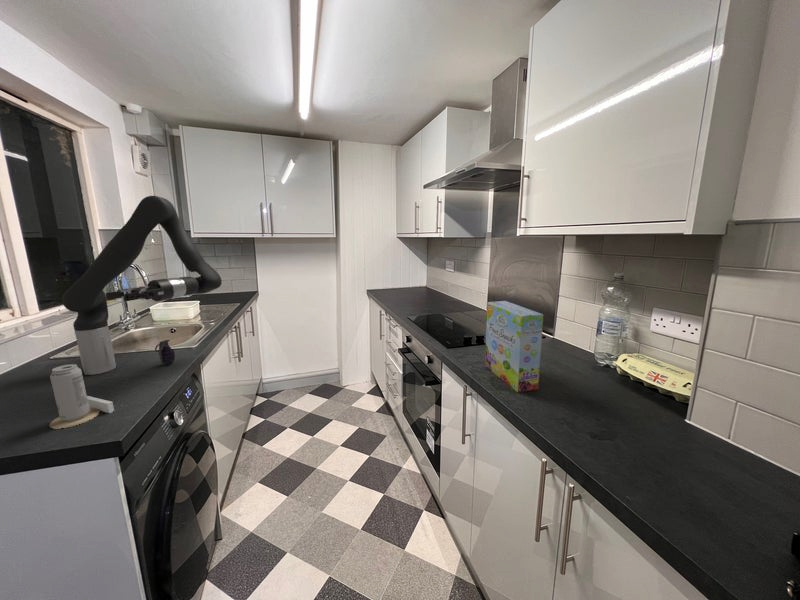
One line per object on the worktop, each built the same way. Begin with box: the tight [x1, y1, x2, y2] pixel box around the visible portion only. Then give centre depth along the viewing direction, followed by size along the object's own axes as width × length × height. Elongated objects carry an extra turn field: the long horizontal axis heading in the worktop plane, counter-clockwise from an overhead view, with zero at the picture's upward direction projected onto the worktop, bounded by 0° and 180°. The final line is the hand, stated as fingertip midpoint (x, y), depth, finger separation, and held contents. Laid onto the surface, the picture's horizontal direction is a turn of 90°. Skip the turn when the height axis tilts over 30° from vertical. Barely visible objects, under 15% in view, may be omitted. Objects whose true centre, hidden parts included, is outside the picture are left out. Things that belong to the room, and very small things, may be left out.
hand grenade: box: [154, 339, 176, 366], centre depth 127 cm, size 6×5×10 cm
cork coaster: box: [49, 408, 101, 430], centre depth 91 cm, size 10×10×1 cm
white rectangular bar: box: [87, 395, 115, 414], centre depth 97 cm, size 21×1×3 cm, turn 71°
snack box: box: [484, 300, 544, 393], centre depth 110 cm, size 22×9×26 cm, turn 14°
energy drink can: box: [49, 363, 90, 422], centre depth 89 cm, size 6×6×15 cm
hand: (115, 297), depth 100 cm, fingers open, 8 cm apart
